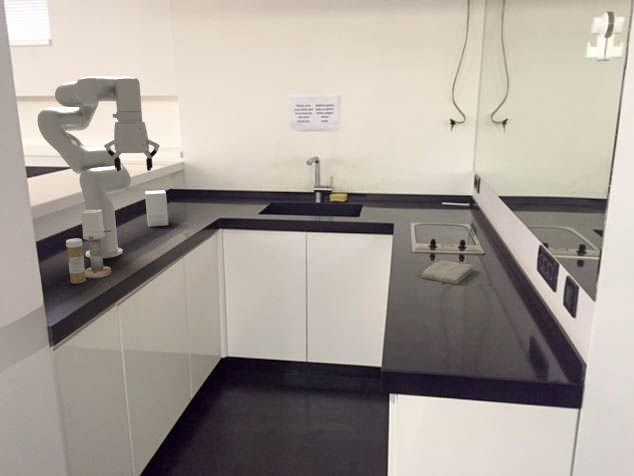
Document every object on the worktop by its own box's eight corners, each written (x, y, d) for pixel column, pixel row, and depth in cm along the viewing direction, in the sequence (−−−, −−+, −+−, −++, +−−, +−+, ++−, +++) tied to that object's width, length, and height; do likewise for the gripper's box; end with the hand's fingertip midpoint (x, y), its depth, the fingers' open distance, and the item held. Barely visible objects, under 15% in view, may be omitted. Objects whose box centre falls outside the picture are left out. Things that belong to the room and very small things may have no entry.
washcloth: (474, 271, 179) (475, 262, 179) (457, 286, 165) (458, 277, 164) (440, 266, 185) (440, 257, 185) (421, 280, 171) (421, 270, 170)
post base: (88, 270, 176) (85, 235, 174) (113, 270, 177) (110, 235, 174) (81, 278, 169) (77, 241, 166) (107, 277, 170) (104, 241, 167)
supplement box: (167, 221, 251) (165, 189, 247) (168, 225, 242) (166, 192, 239) (147, 222, 248) (144, 190, 244) (147, 226, 240) (145, 193, 236)
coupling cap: (80, 240, 166) (77, 214, 164) (87, 234, 174) (84, 209, 171) (108, 240, 167) (106, 213, 165) (114, 234, 175) (112, 208, 173)
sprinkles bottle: (73, 279, 168) (68, 238, 165) (88, 279, 168) (84, 237, 165) (68, 284, 164) (63, 241, 160) (83, 283, 164) (79, 241, 161)
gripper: (98, 117, 167) (103, 172, 171) (155, 117, 169) (159, 171, 173) (105, 116, 175) (109, 169, 179) (159, 117, 176) (162, 168, 181)
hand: (134, 170), depth 176 cm, fingers open, 9 cm apart
